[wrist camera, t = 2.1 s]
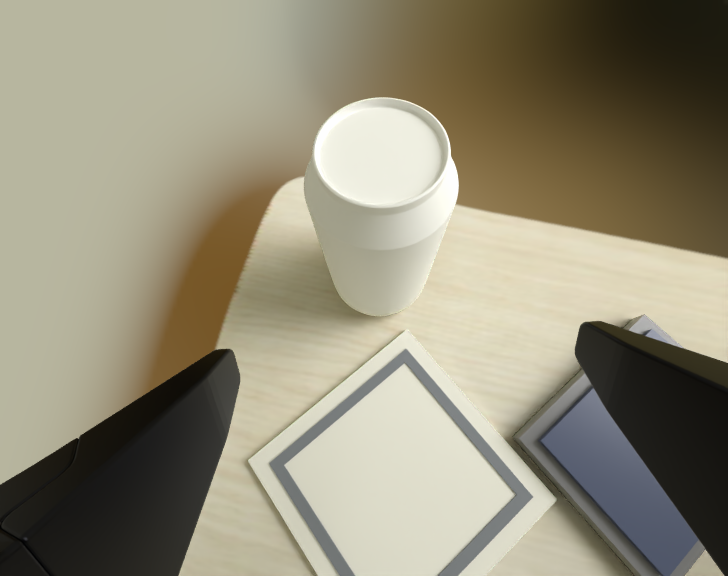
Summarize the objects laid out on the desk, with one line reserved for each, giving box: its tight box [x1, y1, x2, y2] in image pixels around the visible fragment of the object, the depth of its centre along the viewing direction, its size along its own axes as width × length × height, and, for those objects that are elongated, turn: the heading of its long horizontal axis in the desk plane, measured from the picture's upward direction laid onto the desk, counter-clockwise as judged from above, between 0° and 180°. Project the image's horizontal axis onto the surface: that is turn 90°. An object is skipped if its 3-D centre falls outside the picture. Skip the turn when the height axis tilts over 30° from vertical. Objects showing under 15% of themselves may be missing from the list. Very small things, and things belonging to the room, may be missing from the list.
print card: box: [248, 329, 557, 576], centre depth 19 cm, size 12×12×1 cm
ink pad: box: [513, 314, 705, 576], centre depth 19 cm, size 11×9×1 cm
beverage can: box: [304, 98, 458, 316], centre depth 18 cm, size 6×6×12 cm
